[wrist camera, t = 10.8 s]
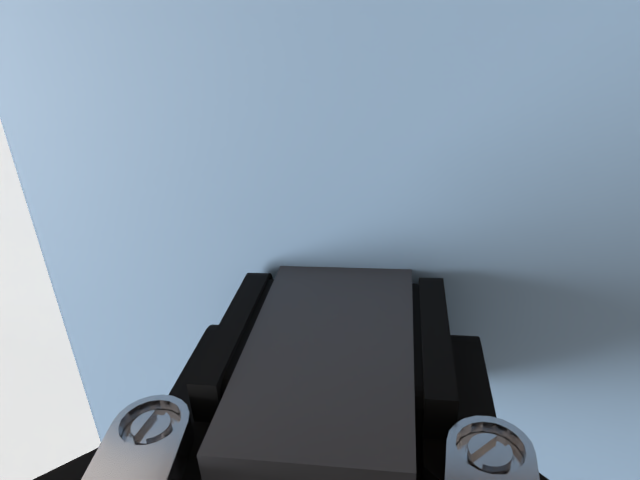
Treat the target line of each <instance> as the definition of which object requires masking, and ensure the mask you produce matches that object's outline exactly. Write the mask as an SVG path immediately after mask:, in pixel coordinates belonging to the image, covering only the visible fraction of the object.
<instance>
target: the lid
mask: <svg viewBox="0 0 640 480" xmlns="http://www.w3.org/2000/svg"><path fill="white" fill-rule="evenodd" d="M0 119H1V122H2V125H3V129H4V132H5V135H6V138H7V141H8V145H9V148H10V151H11V154H12V158H13V161H14V164H15V167H16V170H17V174H18V177H19V180H20V183H21V187H22V190H23V193H24V196H25V199H26V203H27V206H28V209H29V212H30V215H31V219H32V222H33V225H34V228H35V232H36V235H37V238H38V241H39V244H40V248H41V251H42V254H43V257H44V261H45V264H46V267H47V270H48V273H49V277H50V280H51V283H52V286H53V290H54V293H55V296H56V299H57V302H58V306H59V309H60V312H61V315H62V318H63V322H64V325H65V328H66V331H67V335H68V338H69V341H70V344H71V347H72V351H73V354H74V357H75V360H76V364H77V367H78V370H79V373H80V376H81V380H82V383H83V386H84V389H85V393H86V396H87V399H88V402H89V405H90V409H91V412H92V415H93V418H94V421H95V425H96V428H97V431H98V434H99V438H100V441H101V442H102V440H103V438H104V436H105V434H106V433H107V431H108V429H109V427H110V425H111V423H112V421H113V420H114V419H115V417H116V416H117V415H118V413H119V412H121V411H122V410H123V409H124V408H125V407H127V406H128V405H130V404H131V403H133V402H135V401H137V400H139V399H142V398H145V397H149V396H153V395H169V393H170V391H171V389H172V388H173V386H174V384H175V382H176V381H177V379H178V377H179V375H180V374H181V372H182V370H183V369H184V367H185V365H186V363H187V362H188V360H189V358H190V356H191V355H192V353H193V351H194V349H195V348H196V346H197V344H198V342H199V341H200V339H201V337H202V336H203V334H204V332H205V330H206V329H207V328H208V326H209V325H212V324H213V325H219V323H220V322H221V320H222V318H223V316H224V314H225V312H226V311H227V309H228V307H229V305H230V303H231V301H232V300H233V298H234V296H235V294H236V292H237V290H238V289H239V287H240V285H241V283H242V281H243V279H244V278H245V276H246V274H247V273H271V274H272V277H273V279H274V281H273V283H272V286H271V288H270V290H269V292H268V295H267V297H266V299H265V301H264V304H263V306H262V308H261V311H260V313H259V315H258V317H257V320H256V322H255V324H254V326H253V329H252V331H251V333H250V335H249V338H248V340H247V342H246V344H245V347H244V349H243V351H242V354H241V356H240V358H239V360H238V363H237V365H236V367H235V369H234V372H233V374H232V376H231V378H230V381H229V383H228V385H227V387H226V390H225V392H224V394H223V397H222V399H221V401H220V403H219V406H218V408H217V410H216V412H215V415H214V417H213V419H212V421H211V424H210V426H209V428H208V430H207V433H206V435H205V437H204V440H203V442H202V444H201V446H200V449H199V451H198V453H197V460H198V464H199V469H200V474H201V479H202V480H416V436H415V391H414V346H413V300H412V283H415V284H419V277H422V278H443V280H444V288H445V296H446V304H447V312H448V320H449V328H450V335H464V336H479V337H480V341H481V345H482V350H483V354H484V359H485V364H486V369H487V374H488V378H489V383H490V388H491V393H492V398H493V402H494V407H495V412H496V417H497V418H499V419H503V420H505V421H507V422H509V423H511V424H513V425H515V426H516V427H518V428H519V429H520V430H521V431H523V432H524V433H525V434H526V435H527V437H528V438H529V439H530V441H531V442H532V443H533V446H534V449H535V452H536V457H537V464H538V470H539V473H541V474H542V475H543V476H545V477H546V478H548V479H549V480H640V0H0Z"/></svg>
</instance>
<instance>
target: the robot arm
mask: <svg viewBox="0 0 640 480" xmlns="http://www.w3.org/2000/svg"><path fill="white" fill-rule="evenodd" d="M273 281H274V279H273V277H272V274H271V273H247V274H246V276H245V278H244V279H243V281H242V283H241V285H240V287H239V289H238V290H237V292H236V294H235V296H234V298H233V300H232V301H231V303H230V305H229V307H228V309H227V311H226V312H225V314H224V316H223V318H222V320H221V322H220V323H219V325H213V324H212V325H209V326H208V328H207V329H206V330H205V332H204V334H203V336H202V337H201V339H200V341H199V342H198V344H197V346H196V348H195V349H194V351H193V353H192V355H191V356H190V358H189V360H188V362H187V363H186V365H185V367H184V369H183V370H182V372H181V374H180V375H179V377H178V379H177V381H176V382H175V384H174V386H173V388H172V389H171V391H170V393H169V395H153V396H149V397H145V398H142V399H139V400H137V401H135V402H133V403H131V404H130V405H128V406H127V407H125V408H124V409H123V410H122V411H121V412H119V413H118V415H117V416H116V417H115V419H114V420H113V421H112V423H111V425H110V427H109V429H108V431H107V433H106V434H105V436H104V438H103V440H102V442H101V444H100V446H99V447H98V448H97V449H95V450H93V451H91V452H89V453H86V454H84V455H82V456H80V457H78V458H76V459H74V460H72V461H70V462H68V463H66V464H64V465H62V466H60V467H58V468H56V469H54V470H52V471H50V472H48V473H46V474H44V475H42V476H39V477H37V478H35V479H33V480H202V479H201V474H200V469H199V464H198V460H197V453H198V451H199V449H200V446H201V444H202V442H203V440H204V437H205V435H206V433H207V430H208V428H209V426H210V424H211V421H212V419H213V417H214V415H215V412H216V410H217V408H218V406H219V403H220V401H221V399H222V397H223V394H224V392H225V390H226V387H227V385H228V383H229V381H230V378H231V376H232V374H233V372H234V369H235V367H236V365H237V363H238V360H239V358H240V356H241V354H242V351H243V349H244V347H245V344H246V342H247V340H248V338H249V335H250V333H251V331H252V329H253V326H254V324H255V322H256V320H257V317H258V315H259V313H260V311H261V308H262V306H263V304H264V301H265V299H266V297H267V295H268V292H269V290H270V288H271V286H272V283H273ZM412 300H413V346H414V391H415V436H416V480H549V479H548V478H546V477H545V476H543V475H542V474H541V473H539V470H538V464H537V457H536V452H535V449H534V446H533V443H532V442H531V441H530V439H529V438H528V437H527V435H526V434H525V433H524V432H523V431H521V430H520V429H519V428H518V427H516V426H515V425H513V424H511V423H509V422H507V421H505V420H503V419H499V418H497V417H496V412H495V407H494V402H493V398H492V393H491V388H490V383H489V378H488V374H487V369H486V364H485V359H484V354H483V350H482V345H481V341H480V337H479V336H464V335H450V328H449V320H448V312H447V304H446V296H445V288H444V280H443V278H422V277H419V284H415V283H412Z"/></svg>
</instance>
